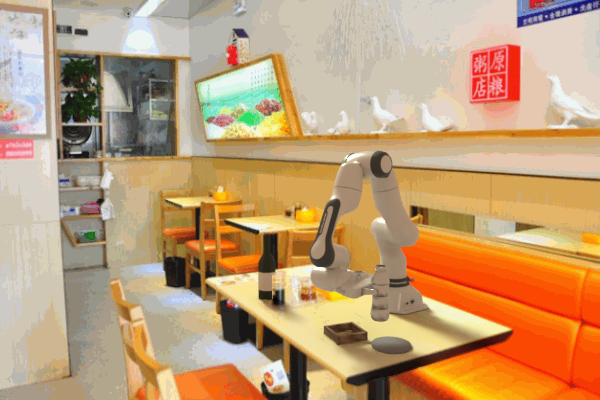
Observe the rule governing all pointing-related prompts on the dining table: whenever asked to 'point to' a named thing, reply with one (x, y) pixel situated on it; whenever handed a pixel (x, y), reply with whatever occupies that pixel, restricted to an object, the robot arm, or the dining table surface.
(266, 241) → the wine bottle
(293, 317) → the dining table surface
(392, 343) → the serving mat
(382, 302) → the plastic bottle
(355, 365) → the dining table surface
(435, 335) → the dining table surface
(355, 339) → the bottle holder
